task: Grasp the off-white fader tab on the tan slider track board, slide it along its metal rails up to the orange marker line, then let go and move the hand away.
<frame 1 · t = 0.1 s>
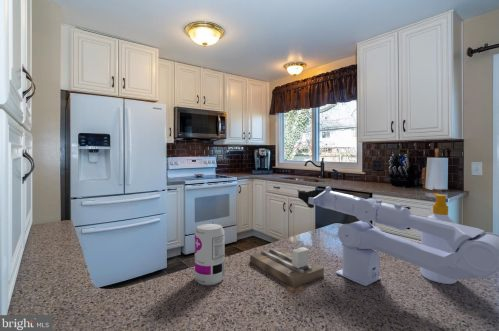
hand: (306, 193, 90), 22 cm above the countertop, tool horizontal, fingers open, 7 cm apart
soap bottle: (437, 277, 75), on the countertop
fader: (300, 258, 74), point 5 cm above the countertop, slide at 0.0 cm
tan slider track board: (284, 268, 79), on the countertop
supplement can: (209, 279, 73), on the countertop
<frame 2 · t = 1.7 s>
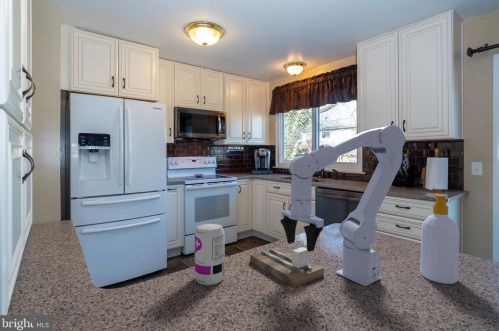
hand: (300, 246, 74), 9 cm above the countertop, tool pointing down, fingers open, 7 cm apart
nothing on the countertop moved.
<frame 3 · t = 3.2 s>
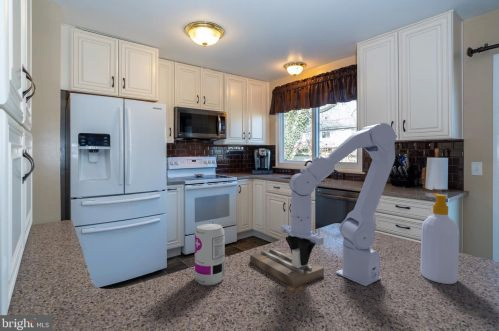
hand: (300, 262, 74), 4 cm above the countertop, tool pointing down, fingers closed on fader, 2 cm apart
fader: (300, 258, 74), point 5 cm above the countertop, slide at 0.0 cm, touching gripper
everything else where it was.
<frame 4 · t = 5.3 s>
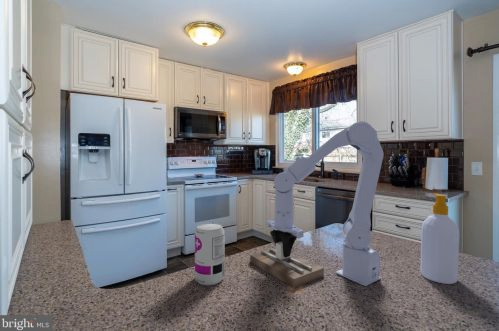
hand: (283, 254, 80), 4 cm above the countertop, tool pointing down, fingers closed on fader, 2 cm apart
fader: (283, 251, 80), point 5 cm above the countertop, slide at 7.1 cm, touching gripper
everything else where it was.
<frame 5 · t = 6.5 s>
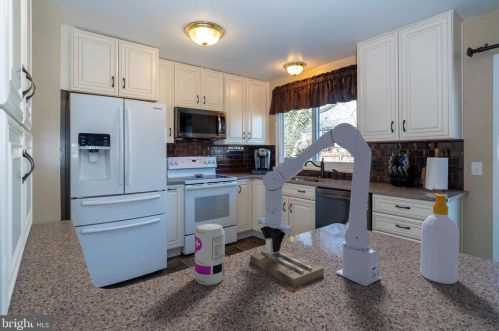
hand: (273, 250, 84), 4 cm above the countertop, tool pointing down, fingers closed on fader, 2 cm apart
fader: (273, 246, 84), point 5 cm above the countertop, slide at 11.9 cm, touching gripper
everything else where it was.
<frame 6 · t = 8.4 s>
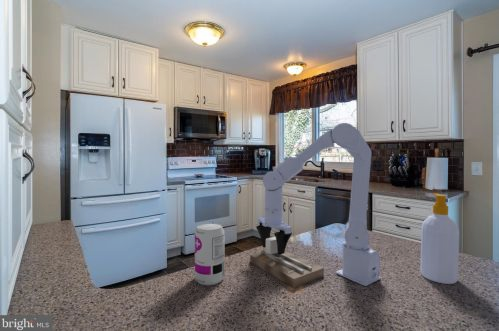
hand: (273, 250, 84), 4 cm above the countertop, tool pointing down, fingers open, 7 cm apart
fader: (273, 246, 84), point 5 cm above the countertop, slide at 12.0 cm
everything else where it was.
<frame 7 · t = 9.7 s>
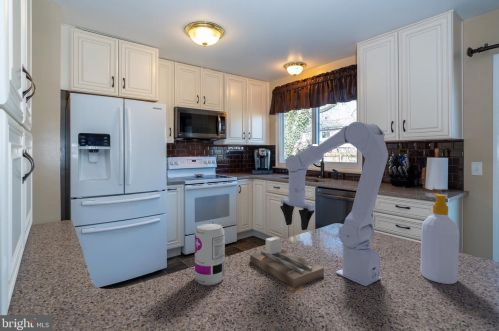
hand: (296, 227, 92), 9 cm above the countertop, tool pointing down, fingers open, 7 cm apart
nothing on the countertop moved.
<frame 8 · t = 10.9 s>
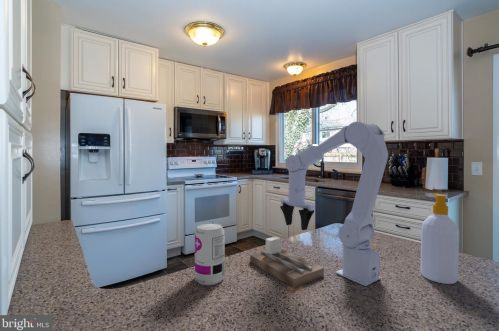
hand: (296, 227, 92), 9 cm above the countertop, tool pointing down, fingers open, 7 cm apart
nothing on the countertop moved.
at the end: fader slide at 12.0 cm; the gripper is holding nothing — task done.
